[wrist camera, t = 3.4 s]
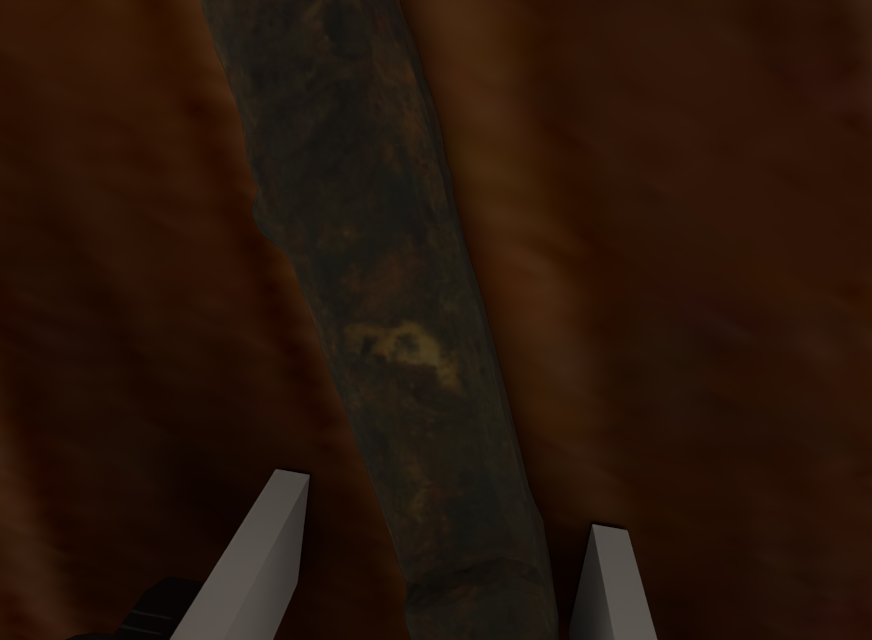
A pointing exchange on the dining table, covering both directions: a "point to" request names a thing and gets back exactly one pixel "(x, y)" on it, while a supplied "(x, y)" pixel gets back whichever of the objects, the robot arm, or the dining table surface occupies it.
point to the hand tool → (392, 300)
